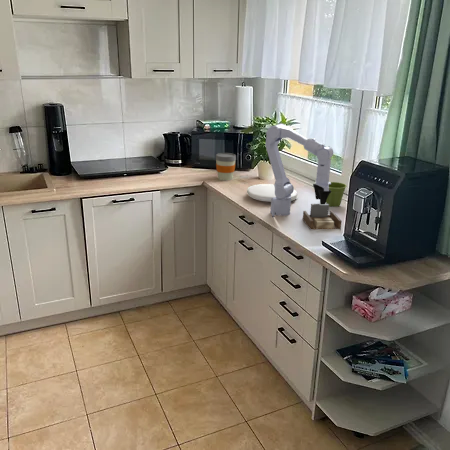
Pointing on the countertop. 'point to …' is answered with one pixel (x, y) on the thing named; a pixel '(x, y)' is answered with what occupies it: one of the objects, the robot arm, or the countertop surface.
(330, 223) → the birch offcut
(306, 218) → the walnut rack
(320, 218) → the birch offcut
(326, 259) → the countertop surface
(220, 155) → the reusable coffee cup
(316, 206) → the gray block
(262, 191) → the plate
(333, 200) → the plant pot
